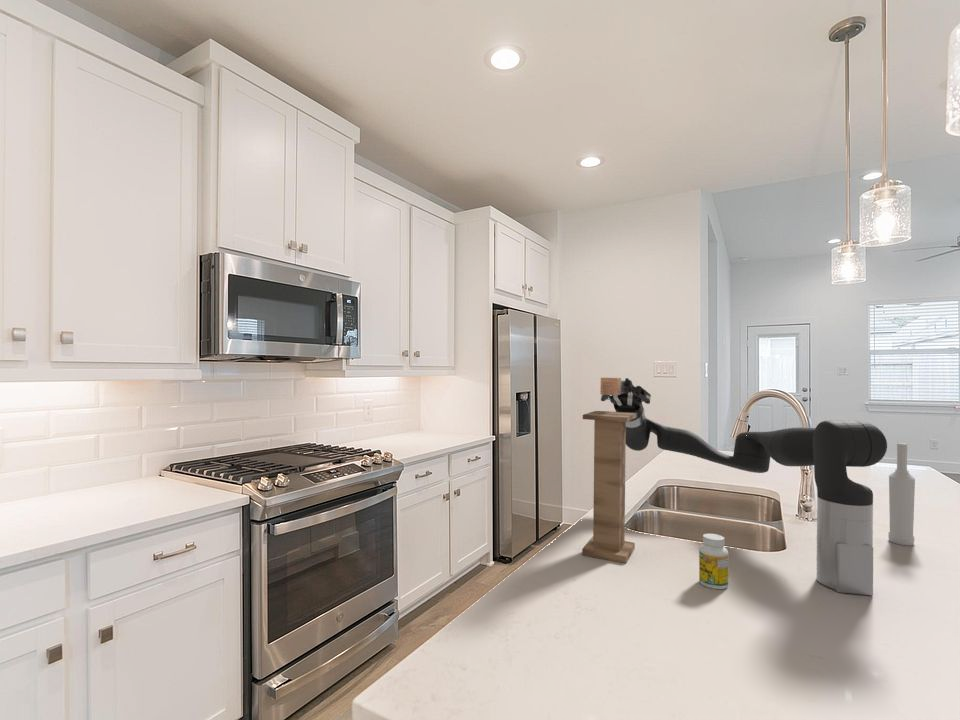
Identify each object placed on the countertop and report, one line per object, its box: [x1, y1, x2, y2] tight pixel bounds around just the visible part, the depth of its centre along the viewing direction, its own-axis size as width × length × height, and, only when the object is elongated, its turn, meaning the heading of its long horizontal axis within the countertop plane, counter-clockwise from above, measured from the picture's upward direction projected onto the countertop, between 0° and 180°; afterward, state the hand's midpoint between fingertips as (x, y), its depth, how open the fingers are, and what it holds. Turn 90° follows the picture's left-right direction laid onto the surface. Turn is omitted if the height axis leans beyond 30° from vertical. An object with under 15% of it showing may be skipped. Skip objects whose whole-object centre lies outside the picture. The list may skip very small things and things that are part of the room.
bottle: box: [887, 442, 916, 546], centre depth 129 cm, size 5×5×25 cm
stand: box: [581, 410, 637, 564], centre depth 119 cm, size 12×10×32 cm
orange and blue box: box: [599, 376, 627, 396], centre depth 129 cm, size 18×4×4 cm, turn 153°
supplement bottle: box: [698, 533, 729, 590], centre depth 102 cm, size 5×5×10 cm
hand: (619, 381), depth 131 cm, fingers closed on orange and blue box, 3 cm apart
